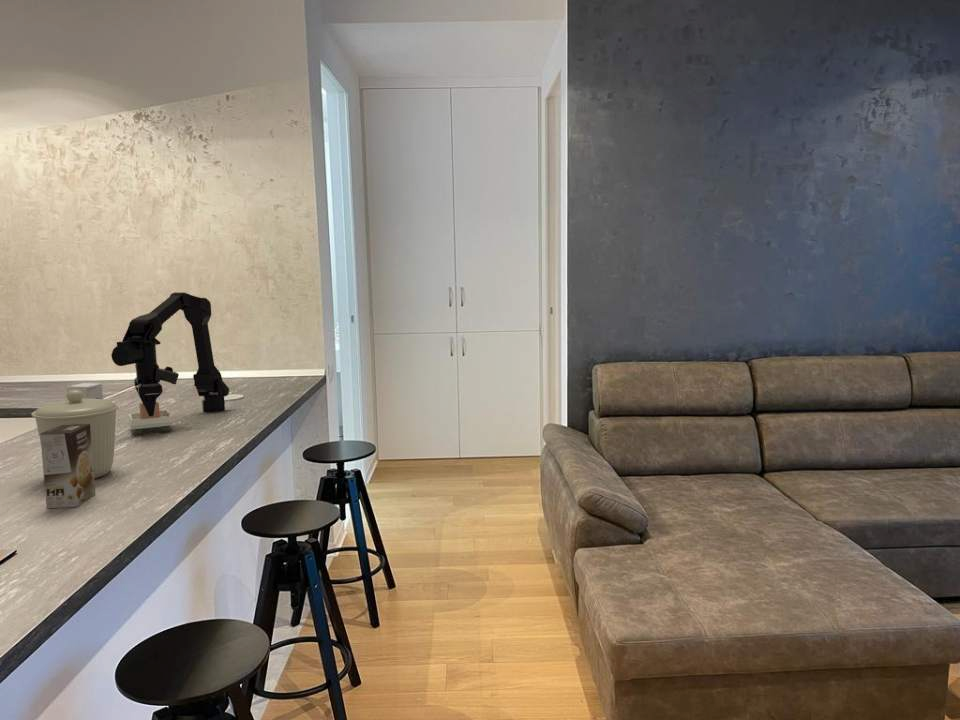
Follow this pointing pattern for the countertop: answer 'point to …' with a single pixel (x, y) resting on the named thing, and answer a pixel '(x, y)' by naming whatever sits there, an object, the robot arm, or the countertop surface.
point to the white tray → (150, 422)
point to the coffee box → (67, 465)
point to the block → (145, 414)
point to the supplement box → (88, 390)
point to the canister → (84, 412)
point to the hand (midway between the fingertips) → (149, 413)
